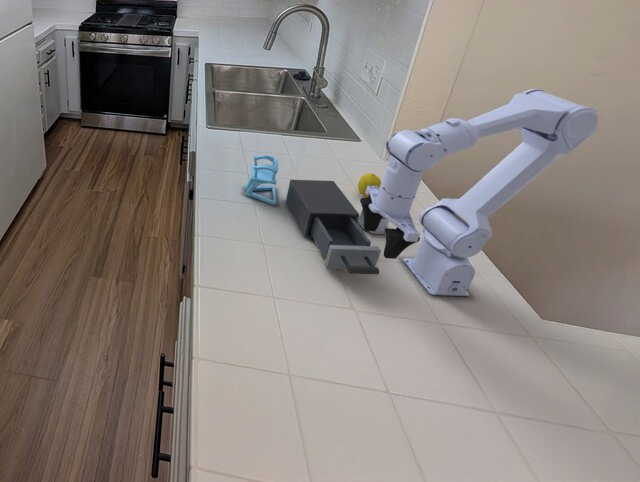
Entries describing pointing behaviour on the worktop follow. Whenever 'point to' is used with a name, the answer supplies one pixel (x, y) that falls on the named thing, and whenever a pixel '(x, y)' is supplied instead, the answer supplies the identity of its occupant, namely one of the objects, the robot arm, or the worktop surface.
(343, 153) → the worktop surface
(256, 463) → the worktop surface
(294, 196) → the drawer cabinet
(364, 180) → the lemon
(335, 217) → the drawer
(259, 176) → the chair
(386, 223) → the octagonal metal cup
